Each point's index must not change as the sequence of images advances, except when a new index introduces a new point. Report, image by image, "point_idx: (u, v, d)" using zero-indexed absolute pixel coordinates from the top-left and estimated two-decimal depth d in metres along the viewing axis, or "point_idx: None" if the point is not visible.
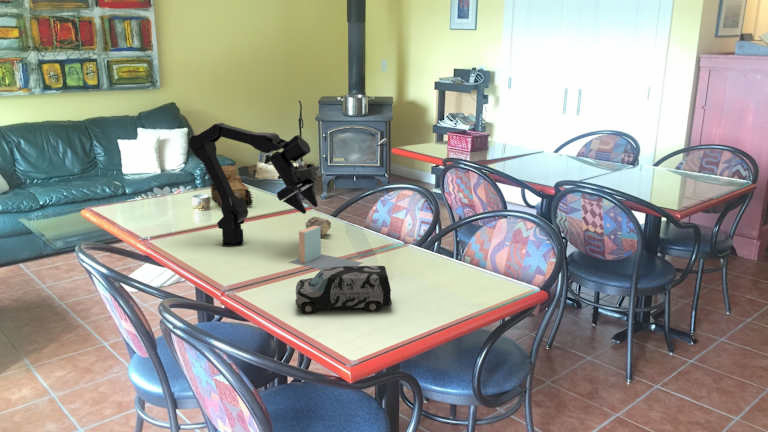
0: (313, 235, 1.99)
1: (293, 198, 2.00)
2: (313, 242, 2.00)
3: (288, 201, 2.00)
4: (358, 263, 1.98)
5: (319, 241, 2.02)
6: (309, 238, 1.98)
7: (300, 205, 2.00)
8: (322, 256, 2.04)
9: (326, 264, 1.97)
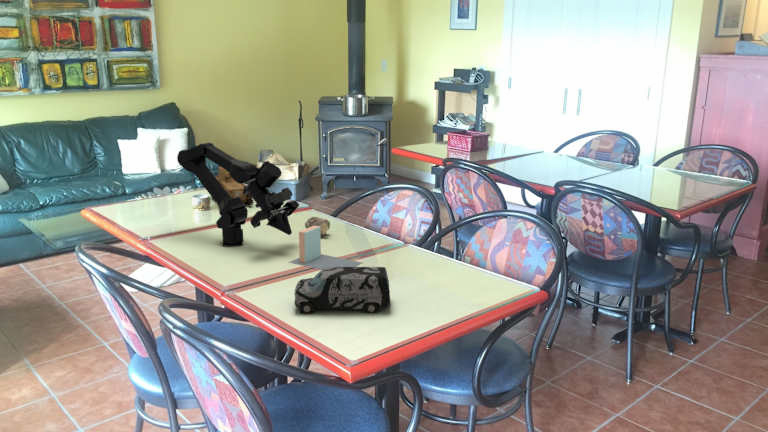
0: (313, 235, 1.99)
1: (276, 220, 2.04)
2: (313, 242, 2.00)
3: (272, 224, 2.04)
4: (358, 263, 1.98)
5: (319, 241, 2.02)
6: (309, 238, 1.98)
7: (283, 226, 2.03)
8: (322, 256, 2.04)
9: (326, 264, 1.97)
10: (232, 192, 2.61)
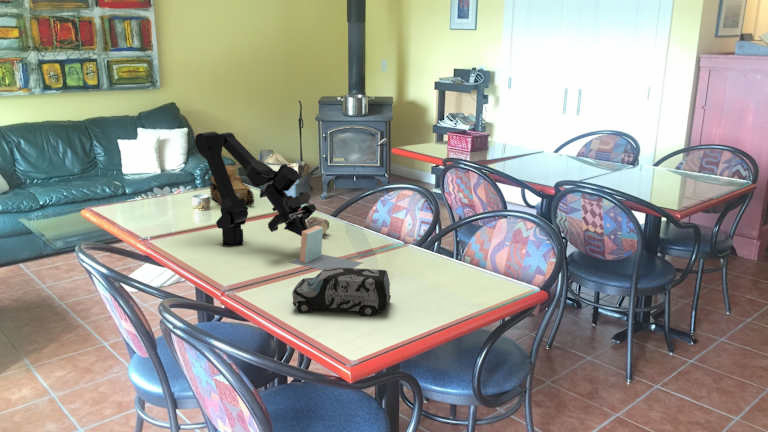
0: (315, 236, 1.99)
1: (294, 224, 2.00)
2: (315, 242, 1.99)
3: (290, 228, 2.00)
4: (358, 263, 1.98)
5: (320, 241, 2.02)
6: (311, 239, 1.97)
7: (301, 230, 1.99)
8: (322, 256, 2.04)
9: (326, 264, 1.97)
10: None
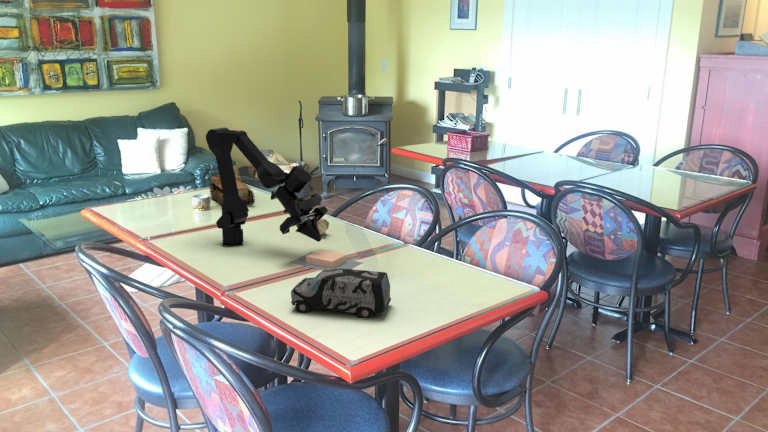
0: None
1: (306, 227, 1.98)
2: None
3: (301, 230, 1.98)
4: (358, 263, 1.98)
5: None
6: None
7: (313, 233, 1.97)
8: None
9: None
10: None
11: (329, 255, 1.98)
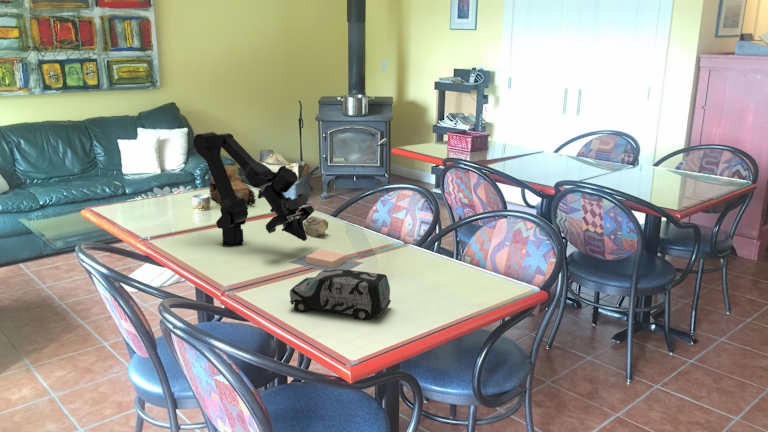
0: None
1: (292, 226, 2.01)
2: None
3: (287, 229, 2.01)
4: (358, 263, 1.98)
5: None
6: None
7: (299, 232, 2.00)
8: None
9: None
10: None
11: (329, 255, 1.98)
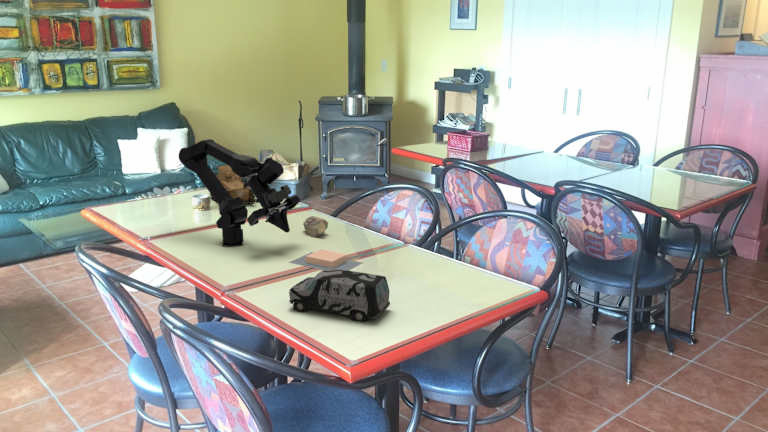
0: None
1: (275, 218, 2.04)
2: None
3: (271, 221, 2.04)
4: (358, 263, 1.98)
5: None
6: None
7: (281, 224, 2.03)
8: None
9: None
10: (235, 191, 2.62)
11: (329, 255, 1.98)
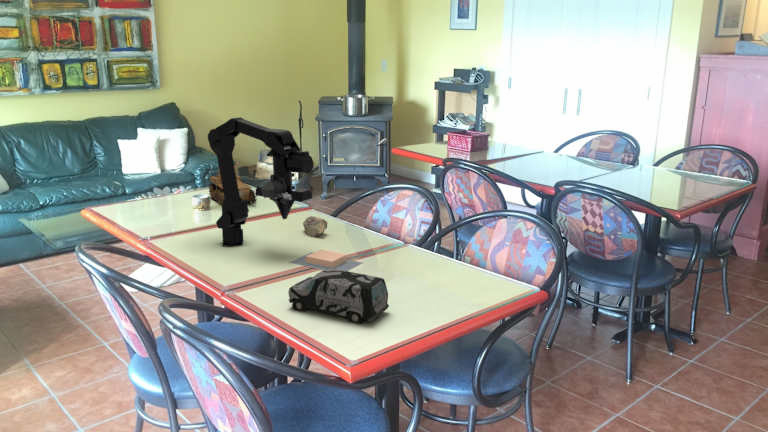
0: None
1: None
2: None
3: None
4: (358, 263, 1.98)
5: None
6: None
7: None
8: None
9: None
10: None
11: (329, 255, 1.98)
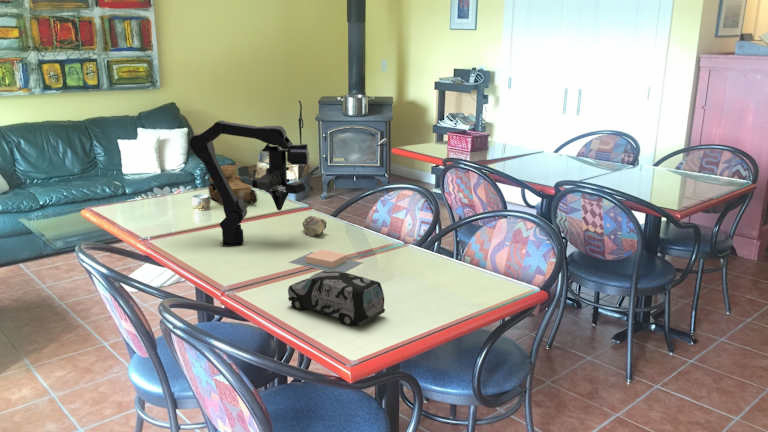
0: None
1: None
2: None
3: None
4: (358, 263, 1.98)
5: None
6: None
7: None
8: None
9: None
10: (237, 191, 2.63)
11: (329, 255, 1.98)
